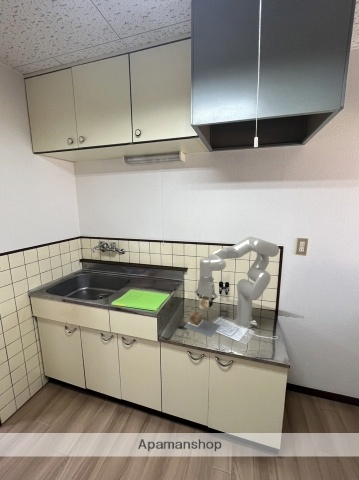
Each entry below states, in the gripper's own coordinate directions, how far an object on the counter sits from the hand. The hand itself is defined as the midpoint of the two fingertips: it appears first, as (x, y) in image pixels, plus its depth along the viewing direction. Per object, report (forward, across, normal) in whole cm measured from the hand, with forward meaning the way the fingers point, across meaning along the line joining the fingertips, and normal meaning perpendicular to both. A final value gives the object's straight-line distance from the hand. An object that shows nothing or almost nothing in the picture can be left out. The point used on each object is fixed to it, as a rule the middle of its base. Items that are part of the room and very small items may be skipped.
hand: (205, 304), depth 139 cm
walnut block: (+19, +10, -5) cm, 22 cm away
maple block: (+2, 0, 0) cm, 2 cm away
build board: (+19, +4, -4) cm, 20 cm away
